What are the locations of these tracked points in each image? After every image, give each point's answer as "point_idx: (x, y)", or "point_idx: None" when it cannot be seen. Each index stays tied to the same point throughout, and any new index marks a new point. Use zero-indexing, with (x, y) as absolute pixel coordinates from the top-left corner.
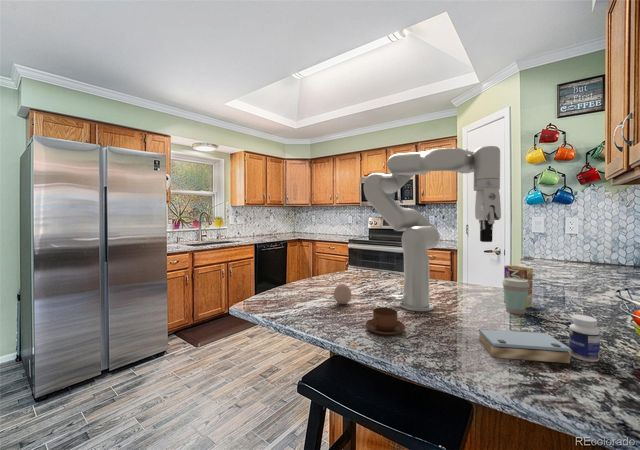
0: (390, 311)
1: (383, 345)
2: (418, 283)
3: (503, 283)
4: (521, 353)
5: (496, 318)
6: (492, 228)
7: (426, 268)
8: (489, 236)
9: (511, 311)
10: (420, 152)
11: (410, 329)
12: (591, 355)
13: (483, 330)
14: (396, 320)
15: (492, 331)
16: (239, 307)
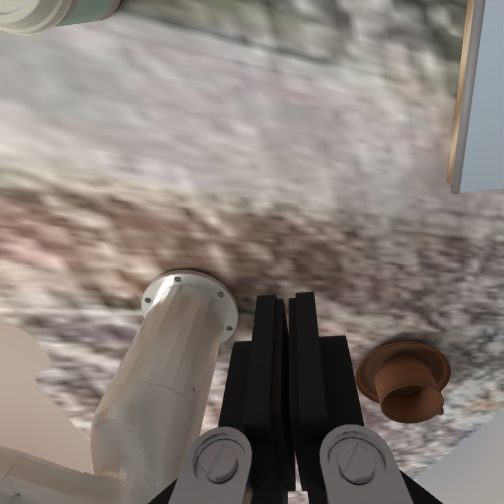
0: (384, 389)
1: (487, 366)
2: (211, 367)
3: (35, 31)
4: None
5: (216, 85)
6: (386, 449)
7: (177, 394)
8: (347, 363)
9: (117, 3)
10: None
11: (384, 324)
12: None
13: (470, 183)
14: (418, 370)
15: (478, 158)
16: None
